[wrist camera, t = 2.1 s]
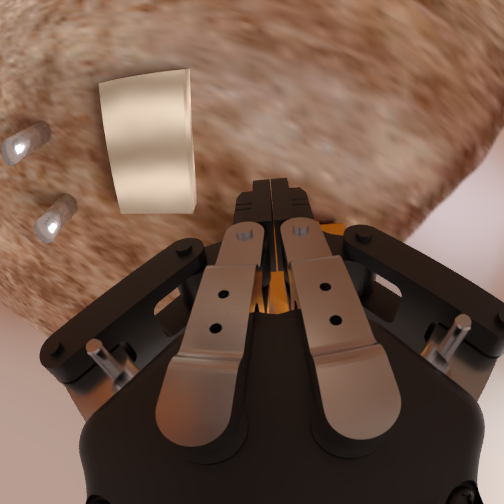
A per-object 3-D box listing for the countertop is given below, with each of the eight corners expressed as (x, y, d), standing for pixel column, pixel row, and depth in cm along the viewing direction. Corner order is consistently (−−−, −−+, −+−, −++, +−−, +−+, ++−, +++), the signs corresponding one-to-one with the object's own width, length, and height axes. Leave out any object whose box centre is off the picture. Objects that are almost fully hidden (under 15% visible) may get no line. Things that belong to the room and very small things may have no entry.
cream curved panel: (113, 79, 21) (98, 83, 19) (190, 68, 21) (182, 69, 19) (131, 200, 30) (121, 213, 28) (198, 199, 30) (192, 213, 28)
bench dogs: (31, 125, 23) (-2, 144, 18) (46, 117, 23) (12, 135, 18) (64, 216, 31) (41, 244, 26) (80, 212, 31) (57, 241, 26)
